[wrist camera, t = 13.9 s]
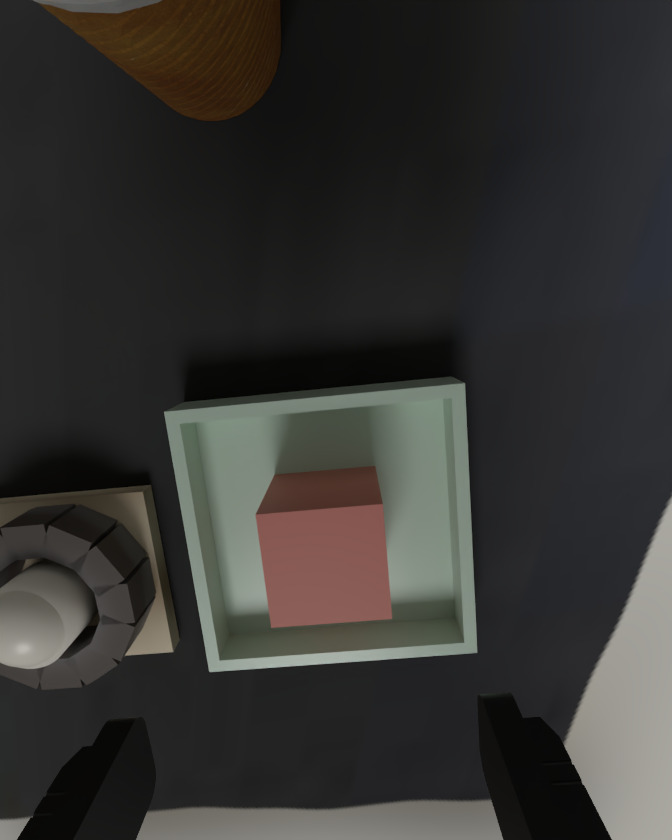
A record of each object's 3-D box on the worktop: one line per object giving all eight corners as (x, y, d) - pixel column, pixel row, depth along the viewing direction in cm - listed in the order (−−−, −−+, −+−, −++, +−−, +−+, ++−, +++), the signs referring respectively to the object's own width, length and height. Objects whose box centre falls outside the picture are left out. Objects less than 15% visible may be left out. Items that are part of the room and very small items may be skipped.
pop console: (-18, 500, 25) (-77, 528, 21) (151, 484, 24) (119, 511, 21) (21, 651, 27) (-27, 700, 23) (179, 639, 26) (154, 687, 23)
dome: (15, 557, 23) (-56, 607, 19) (94, 550, 23) (40, 599, 19) (33, 629, 24) (-31, 692, 20) (110, 623, 24) (61, 686, 20)
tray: (183, 402, 23) (164, 411, 21) (451, 376, 23) (465, 383, 20) (222, 637, 26) (209, 672, 24) (464, 619, 26) (477, 652, 23)
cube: (274, 474, 23) (255, 514, 19) (375, 465, 23) (382, 503, 18) (286, 566, 24) (271, 627, 20) (383, 559, 24) (392, 619, 19)
